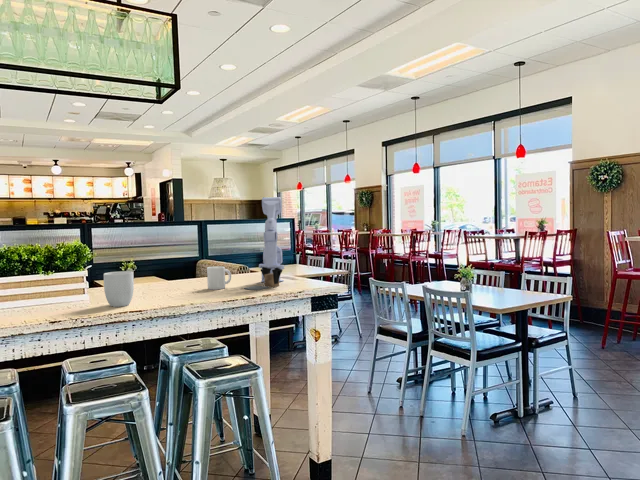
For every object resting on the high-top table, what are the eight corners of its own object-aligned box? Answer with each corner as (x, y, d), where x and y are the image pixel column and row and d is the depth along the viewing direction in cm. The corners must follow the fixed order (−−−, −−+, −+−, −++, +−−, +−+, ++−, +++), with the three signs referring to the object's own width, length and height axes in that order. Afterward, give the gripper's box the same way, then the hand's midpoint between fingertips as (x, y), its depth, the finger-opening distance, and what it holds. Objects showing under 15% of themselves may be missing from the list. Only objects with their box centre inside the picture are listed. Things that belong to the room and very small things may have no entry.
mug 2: (228, 285, 241) (227, 265, 240) (235, 287, 234) (234, 266, 234) (205, 288, 234) (204, 267, 233) (211, 290, 227) (211, 268, 227)
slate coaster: (244, 289, 229) (244, 287, 229) (255, 286, 236) (255, 285, 236) (256, 290, 225) (256, 289, 225) (268, 287, 231) (268, 286, 231)
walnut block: (264, 286, 236) (264, 274, 235) (271, 285, 240) (271, 273, 240) (272, 287, 233) (272, 274, 233) (279, 286, 237) (278, 273, 237)
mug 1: (113, 301, 202) (111, 270, 201) (140, 300, 203) (139, 269, 202) (100, 308, 187) (99, 274, 186) (130, 307, 188) (128, 274, 187)
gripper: (254, 255, 236) (255, 283, 237) (277, 256, 228) (278, 285, 229) (264, 254, 242) (264, 281, 243) (286, 255, 234) (287, 283, 235)
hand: (271, 283), depth 236 cm, fingers closed on walnut block, 5 cm apart
